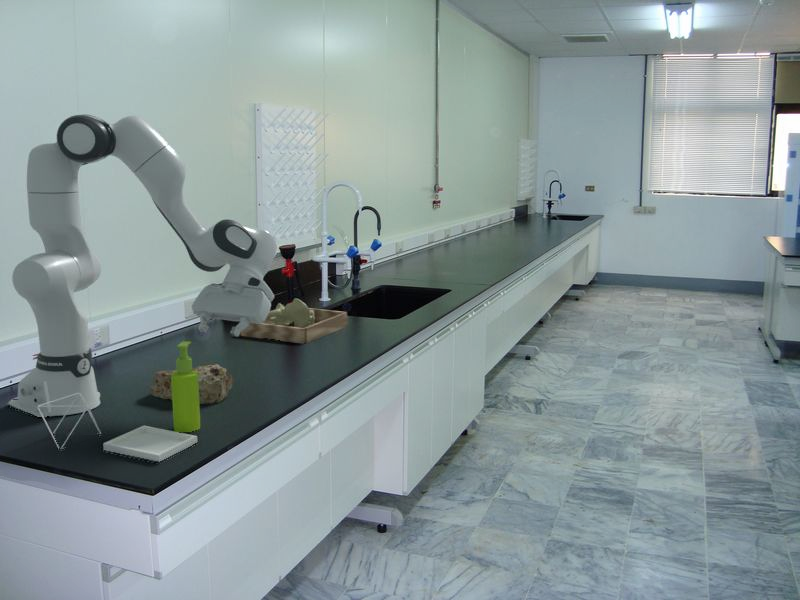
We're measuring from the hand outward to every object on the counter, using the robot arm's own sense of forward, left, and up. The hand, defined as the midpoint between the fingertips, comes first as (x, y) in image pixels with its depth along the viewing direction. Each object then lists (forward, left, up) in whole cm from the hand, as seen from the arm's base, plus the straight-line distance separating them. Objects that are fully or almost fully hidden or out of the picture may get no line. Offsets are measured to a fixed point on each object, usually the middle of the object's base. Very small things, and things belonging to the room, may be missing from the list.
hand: (217, 333), depth 183 cm
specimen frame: (-30, +82, -20) cm, 89 cm away
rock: (-14, +8, -20) cm, 26 cm away
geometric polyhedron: (-18, -29, -20) cm, 40 cm away
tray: (+1, -25, -20) cm, 32 cm away
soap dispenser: (0, -12, -20) cm, 23 cm away
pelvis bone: (-31, +82, -20) cm, 90 cm away
